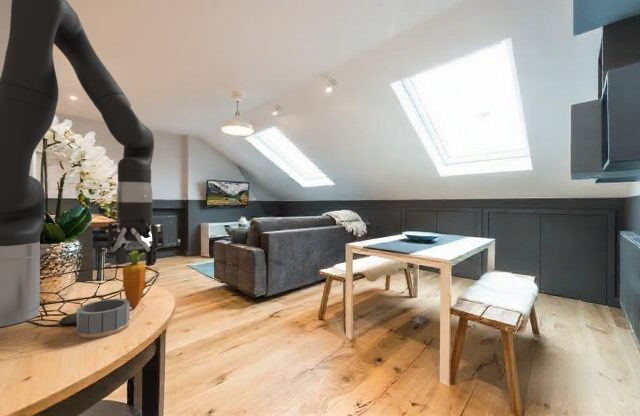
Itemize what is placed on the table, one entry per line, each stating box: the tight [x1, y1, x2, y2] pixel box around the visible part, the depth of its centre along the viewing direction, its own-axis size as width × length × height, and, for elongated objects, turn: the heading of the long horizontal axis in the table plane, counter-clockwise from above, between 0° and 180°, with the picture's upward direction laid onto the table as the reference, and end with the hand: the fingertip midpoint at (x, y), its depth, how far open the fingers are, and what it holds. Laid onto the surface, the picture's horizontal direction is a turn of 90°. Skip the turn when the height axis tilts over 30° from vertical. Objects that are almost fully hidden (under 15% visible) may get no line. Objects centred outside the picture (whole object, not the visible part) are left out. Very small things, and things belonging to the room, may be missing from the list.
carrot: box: [122, 250, 147, 310], centre depth 71 cm, size 5×5×15 cm
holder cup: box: [76, 298, 130, 340], centre depth 59 cm, size 9×9×5 cm
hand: (135, 264), depth 71 cm, fingers open, 8 cm apart
